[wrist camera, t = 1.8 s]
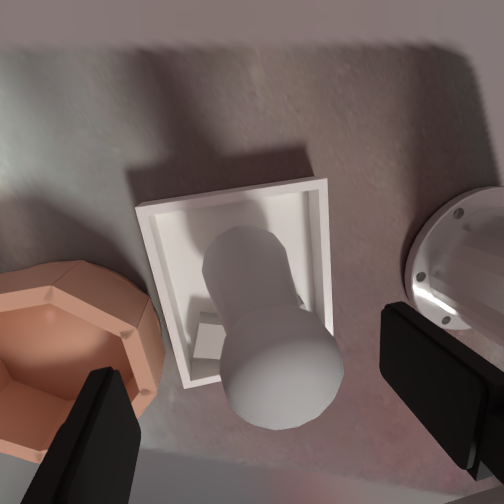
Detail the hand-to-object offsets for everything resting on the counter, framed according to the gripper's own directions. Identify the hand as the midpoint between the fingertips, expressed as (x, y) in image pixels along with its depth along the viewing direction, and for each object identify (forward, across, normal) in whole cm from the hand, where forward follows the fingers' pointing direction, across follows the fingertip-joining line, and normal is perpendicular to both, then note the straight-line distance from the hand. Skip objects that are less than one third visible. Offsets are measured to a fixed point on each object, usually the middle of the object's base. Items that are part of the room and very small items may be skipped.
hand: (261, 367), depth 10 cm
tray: (+12, -1, +2) cm, 12 cm away
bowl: (+12, +12, +4) cm, 18 cm away
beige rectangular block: (+12, +2, +6) cm, 13 cm away
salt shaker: (+12, -1, 0) cm, 12 cm away
